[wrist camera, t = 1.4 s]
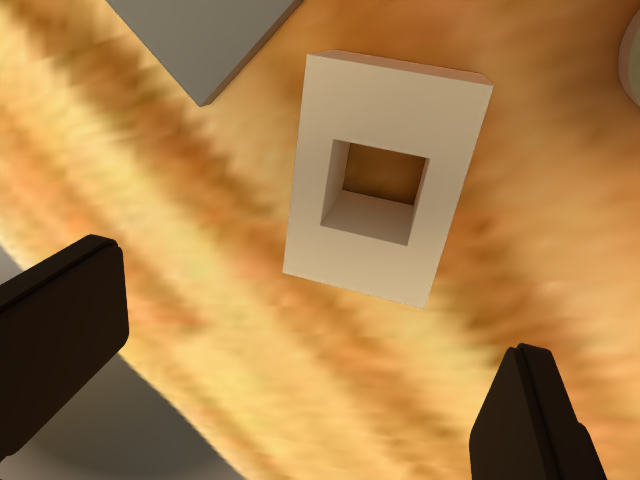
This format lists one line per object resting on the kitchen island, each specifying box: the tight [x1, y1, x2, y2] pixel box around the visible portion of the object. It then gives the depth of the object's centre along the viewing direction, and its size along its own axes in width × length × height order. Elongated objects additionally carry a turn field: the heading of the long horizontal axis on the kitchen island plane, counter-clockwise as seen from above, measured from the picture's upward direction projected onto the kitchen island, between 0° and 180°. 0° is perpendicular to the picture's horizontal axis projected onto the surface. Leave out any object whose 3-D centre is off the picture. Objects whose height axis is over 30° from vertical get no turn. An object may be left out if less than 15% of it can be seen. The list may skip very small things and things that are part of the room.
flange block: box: [283, 49, 494, 309], centre depth 20 cm, size 10×7×5 cm
